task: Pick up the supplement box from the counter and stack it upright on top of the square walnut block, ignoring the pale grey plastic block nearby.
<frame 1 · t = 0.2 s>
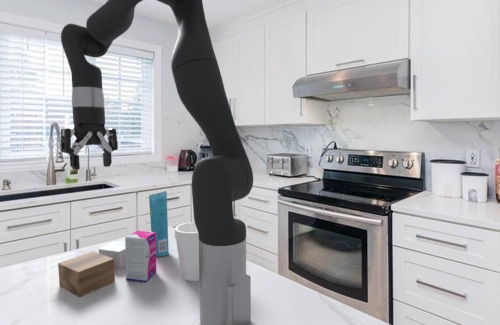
hand: (92, 167, 84), 28 cm above the counter, tool pointing down, fingers open, 8 cm apart
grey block: (118, 262, 92), on the counter
supplement box: (142, 277, 83), on the counter
walnut block: (87, 284, 79), on the counter
foam cup: (194, 276, 84), on the counter
tube: (160, 254, 98), on the counter
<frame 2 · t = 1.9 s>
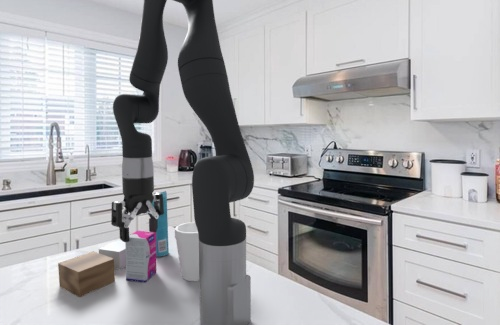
hand: (139, 236, 82), 11 cm above the counter, tool pointing down, fingers open, 8 cm apart
nothing on the counter moved.
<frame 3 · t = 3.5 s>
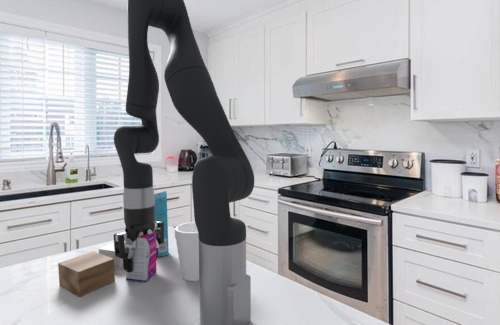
hand: (141, 266, 83), 3 cm above the counter, tool pointing down, fingers closed on supplement box, 7 cm apart
supplement box: (142, 277, 83), on the counter, touching gripper
everything else where it was.
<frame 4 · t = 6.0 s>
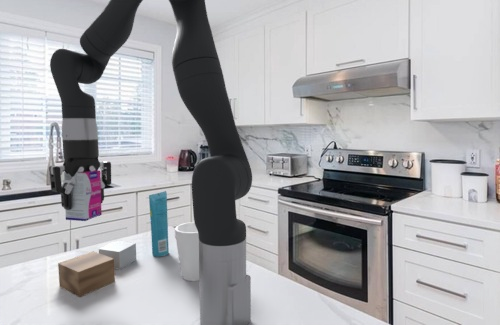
hand: (84, 205, 77), 20 cm above the counter, tool pointing down, fingers closed on supplement box, 7 cm apart
supplement box: (84, 218, 77), point 17 cm above the counter, touching gripper
everything else where it was.
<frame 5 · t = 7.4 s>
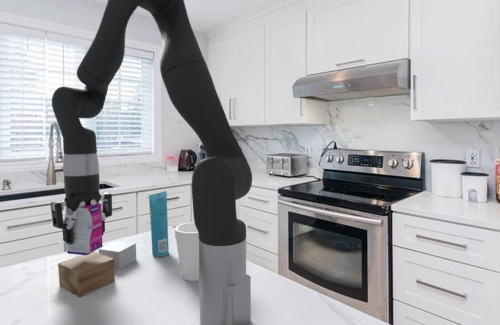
hand: (85, 239, 78), 12 cm above the counter, tool pointing down, fingers closed on supplement box, 7 cm apart
supplement box: (85, 251, 78), point 9 cm above the counter, touching gripper
everything else where it was.
when the fingers open (10 cm above the counter, at t = 8.7 s): supplement box drops 1 cm, resting on walnut block.
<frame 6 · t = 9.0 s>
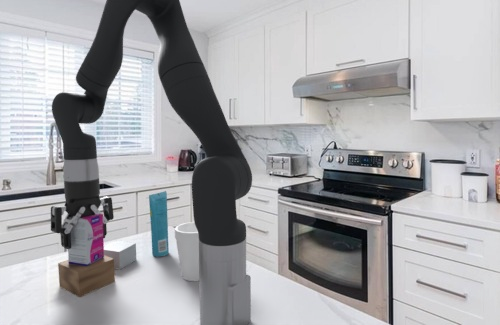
hand: (85, 242, 78), 11 cm above the counter, tool pointing down, fingers open, 8 cm apart
supplement box: (87, 261, 79), point 6 cm above the counter, touching walnut block
everything else where it was.
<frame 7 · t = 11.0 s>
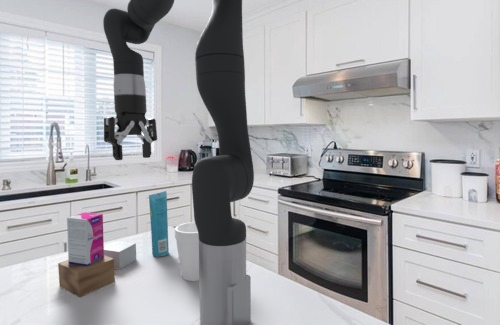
hand: (133, 158, 81), 31 cm above the counter, tool pointing down, fingers open, 8 cm apart
nothing on the counter moved.
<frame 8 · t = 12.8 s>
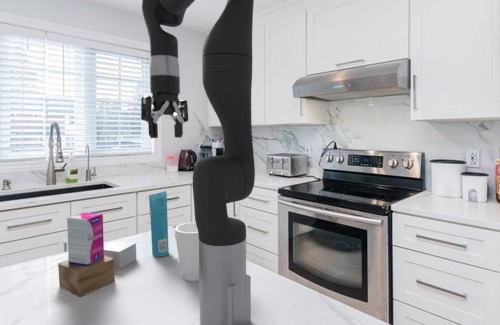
hand: (166, 137, 85), 36 cm above the counter, tool pointing down, fingers open, 8 cm apart
nothing on the counter moved.
at the end: supplement box 0.2 cm off-centre on the walnut block, point 5.8 cm above the walnut block's base; supplement box tilted 0°; the gripper is holding nothing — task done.
